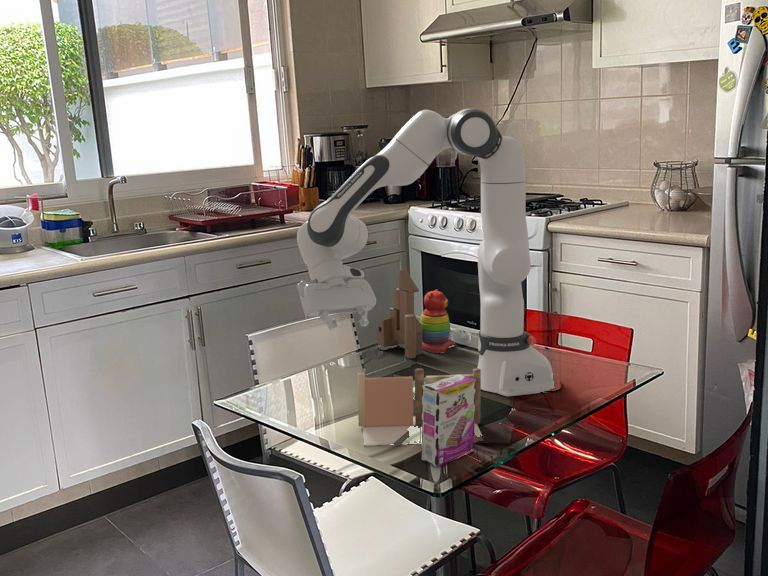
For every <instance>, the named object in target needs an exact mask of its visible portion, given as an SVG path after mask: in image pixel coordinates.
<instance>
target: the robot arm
mask: <svg viewBox="0 0 768 576" xmlns="http://www.w3.org/2000/svg"><path fill="white" fill-rule="evenodd" d="M447 149H450V150H451V151H452V150H453V151H454V152H456V153H458V154H461V155H464V156H472V157H475V158H476V159H477V161H478V163H479V167H480V216H481V224H482V233H483V239H482V240H481V242H480V243H479V245H478V249H477V269H478V270H477V271H478V274H477V275H478V288H479V299H480V327H479V328H480V329H479V330H478V337H477V342H478V343H477V350H478V351H477V352H478V362H477V368H478V369H481V391H485V392H489V393H490V392H491V393H494V394H498V395H502V396H505V397H514V396H515V397H516V396H523V395H524V396H525V395H532V394H541V393H540V392H543V393H545V392H544V391H548V390H550V389H553V388H555V387H554V381H553V374H554V373H553V369H552V364H551V362H550V360H549V359H548V358H547V357H546V356H545V355H543V354H542V353H541V352H539V351H538V350H537V349H535V348H534V347H533V346H534V345H535V344H537V339H536V338H535V337H534V336H533V335H531V334H530V333H528V332H527V331H526V330H525V331H524V327H525V326H524V324H525V322H524V319H525V317H524V315H525V301H524V295H523V288H522V287H523V285H522V282H523V281H525V280H526V278H527V277H528V275H529V274H530V272H531V267H532V265H531V258H530V257H531V255H530V242H529V233H528V223H527V215H526V210H527V209H526V195H527V194H526V186H527V185H526V183H527V182H526V181H527V179H526V178H527V177H526V163H525V155H524V149H523V146H522V143H521V142H520V141H519V140H518V139H517V138H515V137H513V136H509V135H502V134H501V131H500V130H499V128H498V126H497V125H496V122H495V121H494V119H493V118H492V116H491V115H489V114H488V113H487V112H486V111H484V110H482V109H477V108H464V109H461V110H459V111H458V112H455V113H453V114H450V115H448V116H445V117H444V116H442V115H441V114H439V113H438V112H437V111H434V110H430V109H422V110H420V111H418V112H417V113H416V114H414V115H413V116H412V117H411V118H410V119H409V120H408V121H407V122H406V123H405V124H404V125H403V126H402V127H401V128H400V130H399V131H398V132H396V134H395V135H394V137H393V138H391V140H390V141H389V143H388V144H386V146H385V147H384V148H382V149H381V151H379V152H378V153H377V154H375V155H374V156H372V157H370V158H368V159H367V160H365V161H364V163H363V164H362V165H360V166H359V167H358V168H357V169H356V170H355V171H354V172H353V173H352V174H351V175H350V176H349V178H347V179H346V181H345V182H344V183H343V184H342V185H340V187H339V188H338V189H337V190H336V191H335V192H334V193H333V194H332V195H331V196H330V197H328V198H327V200H324V201H323V202H321V203H320V204H319V205H317V206H316V207H314V209H313V210H312V211H311V212H310V214H309V216H308V219H307V221H306V222H304V223H303V224H302V225H301V226H300V227H299V228H298V230H297V233H296V241H297V246H298V250H299V252H300V255H301V257H302V260H303V262H304V264H305V265H306V267H307V269H308V276H309V278H310V279H308V280H301V281H299V283H297V285H296V289H297V293H298V295H299V298H300V304H301V307H302V310H303V314H305V315H306V316H307V317H309V318H310V317H319V318H320V320H321V321H322V322H323V323H325V325H327V327H328V329H329V331H335V330H337V329H338V327H339V326H338V324H337V320H336V319H335V320H333V319H332V318H331V317H330V316H331V315H340V314H347V313H348V314H350V313H358V315H359V316H361V317H360V319H359V320H358V322H359V325H360V327H367V326H368V325H369V324H370V322H369V319H368V313H369V311H371V310H372V309H373V308H374V307H375V306H376V304H377V297H376V295H375V293H374V291H373V288H372V286H371V284H370V283H369V282H368V281H367V280H366V279H364V278H365V273H364V271H363V270H362V269H359V268H355V267H351V266H349V265H345V264H343V260H346V259H348V258H351V257H353V256H355V255H357V254H359V253H360V252H362V251H363V250H364V249H365V247H366V246H367V244H368V241H369V237H370V236H369V235H370V234H369V229H368V226H367V224H366V223H365V222H364V221H363V220H361V219H359V218H358V217H356V216H354V215H351V214H352V213H353V212H354V211H355V210H356V209H357V208H358V206H360V204H361V203H363V201H365V200H366V198H367V197H368V196H369V195H371V193H373V192H374V191H375V190H377V189H380V188H382V187H387V186H392V187H393V186H395V187H398V186H399V187H402V186H403V187H404V186H409V185H411V184H413V183H414V182H415V181H417V180H418V179H419V178H420V177H421V176H422V175H423V174H424V173H425V171H426V170H427V169H428V168H429V166H430V165H431V164H432V162H433V161H434V160H435V158H436V157H437V156H438V155H439V154H440V153H441V152H443V151H444V150H447Z"/></svg>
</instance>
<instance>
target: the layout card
mask: <svg viewBox="0 0 768 576" xmlns="http://www.w3.org/2000/svg"><path fill="white" fill-rule="evenodd" d="M410 426H414V427H416V426H417V425H415V415H413V424H406V425H380V426H364V427H362V438H363V447H365V448H367V447H377V446H376V445H390V444H394V445H393V446H399V445H400V444H402V443H403V442H404V441H405V440H406V439H407V438H409V437H410V436H409V431H408V430H407V429H408V428H409V427H410ZM421 427H422V426H418V428H420V441H419V443H421ZM474 433H475V435H476V436H477V437H480V435H481V436H483V434H482V432H481V430H480V428H479V424H475V423H474ZM405 443H408V444H409V443H410V442H409V441H405ZM414 443H417V442H416V441H414ZM400 446H401V445H400Z"/></svg>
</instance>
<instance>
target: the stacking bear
mask: <svg viewBox="0 0 768 576" xmlns="http://www.w3.org/2000/svg"><path fill="white" fill-rule="evenodd" d="M423 303H424V304H423V305H424V307H425V309H424V310H423V311H422V313H421V314H420V315H421V316H420V321H419V322H420V323H421V324H422V351H425V352H427V353H428V352H429V353H432V354H439V353H440V354H442V353H441V352H445V353H447V352H446V351H448V349H447V348H448V347H449V346H452V345H454V344H455V343H456V341H455V340H452V339H450V338H449V337H450V333H451V332H450V331H451V323H450V318H449V314H448V311H447V310H446V308H447V307H448V304H449V300H448V298H447V297H446V296H445V294H444V293H443V292H442V291H440V290H439V289H435V290H431V291H428V292H427V293H426V294H425V295H424V297H423ZM456 344H457V343H456ZM446 349H447V350H446Z"/></svg>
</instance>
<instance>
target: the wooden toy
mask: <svg viewBox="0 0 768 576" xmlns="http://www.w3.org/2000/svg"><path fill="white" fill-rule="evenodd" d="M419 291H420V290H419V287H418V286H417V285H416V283H415V281H414V280H413V279H412V276H411V275H410V274H409V272H408V271H407V269H406V268H402V269H399V270H398V288H395V289H394V291H393V293H391V295H392V296H391V297H392V300H391V301H392V302H391V303H392V305H391V306H390V307H389V309H388V313H389V314H388V315H389V318H385V319H382V320H380V321H378V323H377V324H376V345H377V344H378V345H379V344H380V345H381V346H383V347H386V346H387V347H388V346H394V345H398V344H400V343H402V344H403V345H404V348H405V349H404V356H406V357H407V358H406V357H405V358H406V359H409V358H410V360H411V359H415V358H416V357H417V356H418V355H421V354H423V349H422V324H421V323H420V321H419V320H418V319H417V316H416V314H415V293H418V292H419Z"/></svg>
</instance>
